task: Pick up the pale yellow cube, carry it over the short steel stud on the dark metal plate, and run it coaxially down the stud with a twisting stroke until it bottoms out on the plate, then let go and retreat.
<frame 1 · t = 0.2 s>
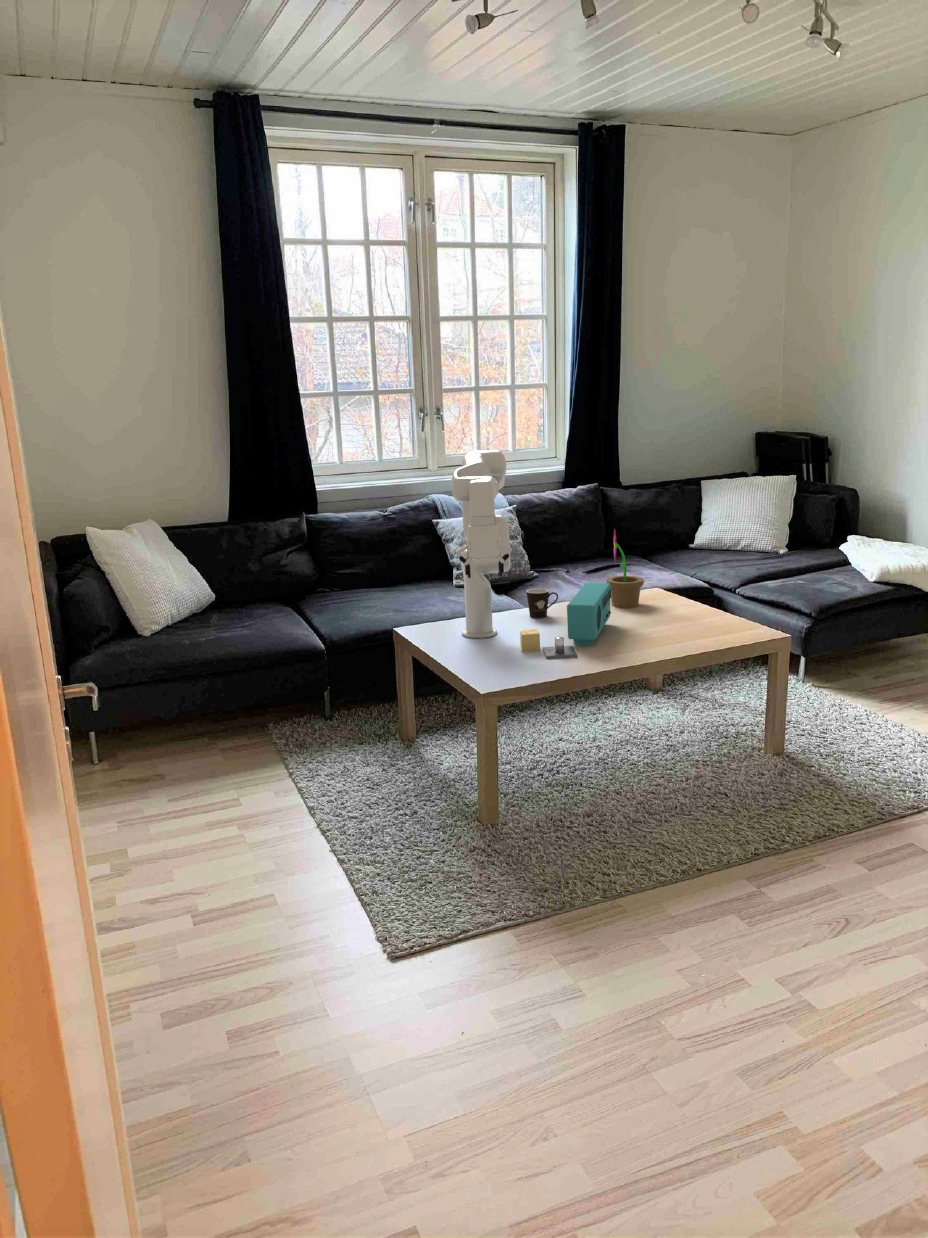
hand: (484, 576, 292), 31 cm above the table, fingers open, 9 cm apart
pale yellow cube: (530, 648, 322), on the table
coffee mug: (542, 616, 363), on the table
flowerpot: (625, 605, 375), on the table
stud plate: (559, 653, 316), on the table
radio: (591, 635, 336), on the table
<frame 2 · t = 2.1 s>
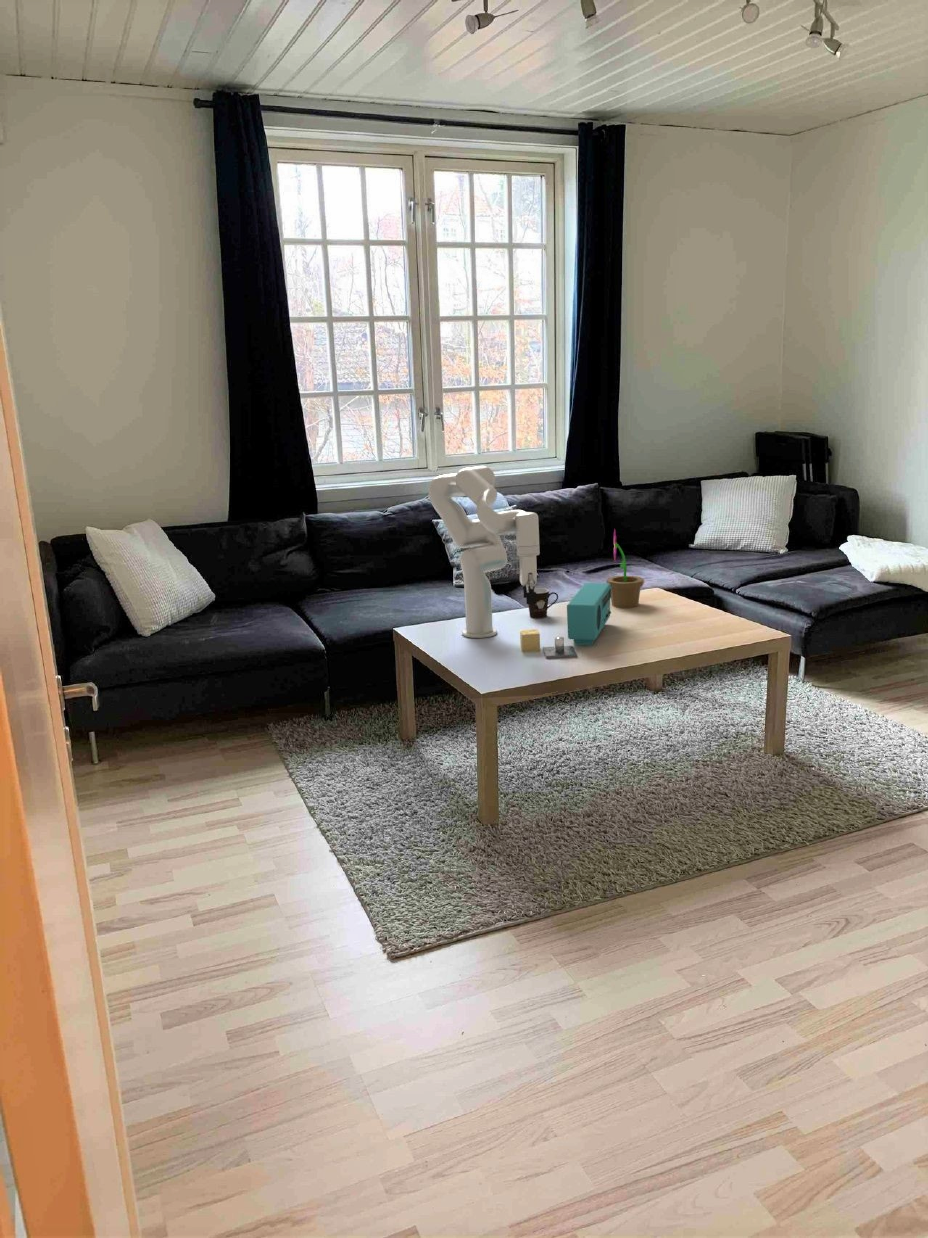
hand: (529, 600, 317), 17 cm above the table, fingers open, 9 cm apart
nothing on the table moved.
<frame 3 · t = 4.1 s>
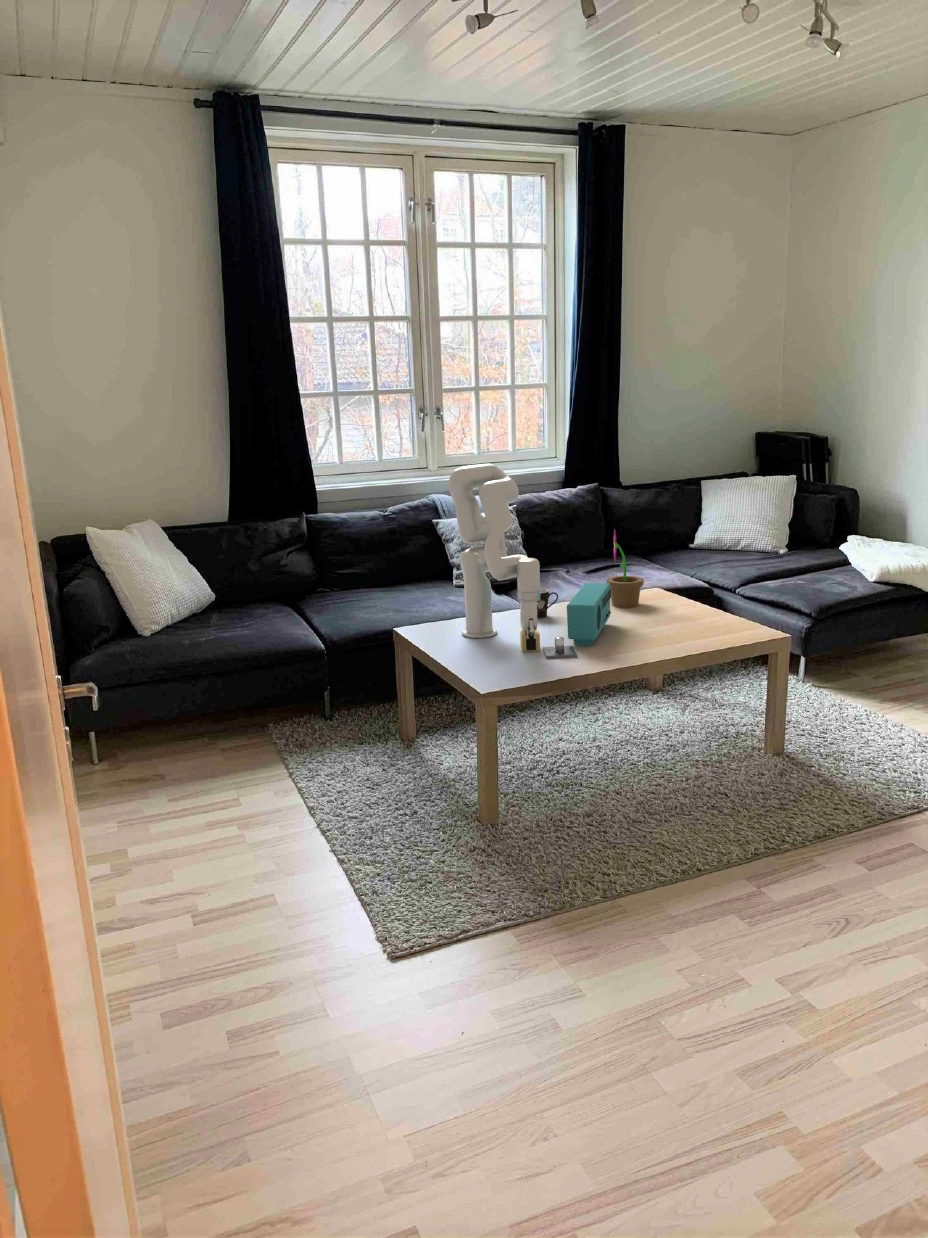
hand: (530, 646, 322), 1 cm above the table, fingers closed on pale yellow cube, 6 cm apart
pale yellow cube: (530, 648, 322), on the table, touching gripper
everything else where it was.
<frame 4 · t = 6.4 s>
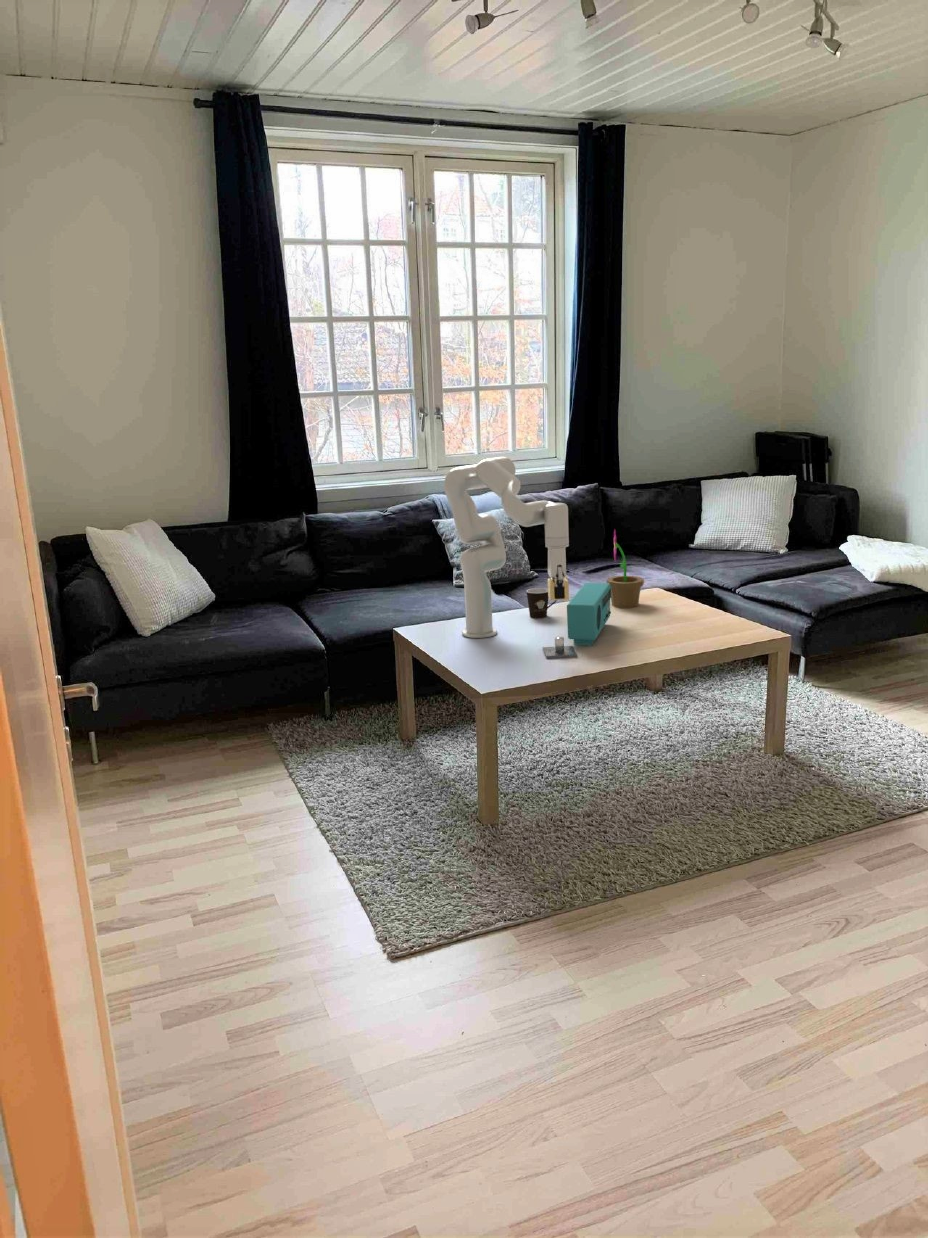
hand: (558, 595, 311), 20 cm above the table, fingers closed on pale yellow cube, 6 cm apart
pale yellow cube: (558, 598, 311), point 19 cm above the table, touching gripper
everything else where it was.
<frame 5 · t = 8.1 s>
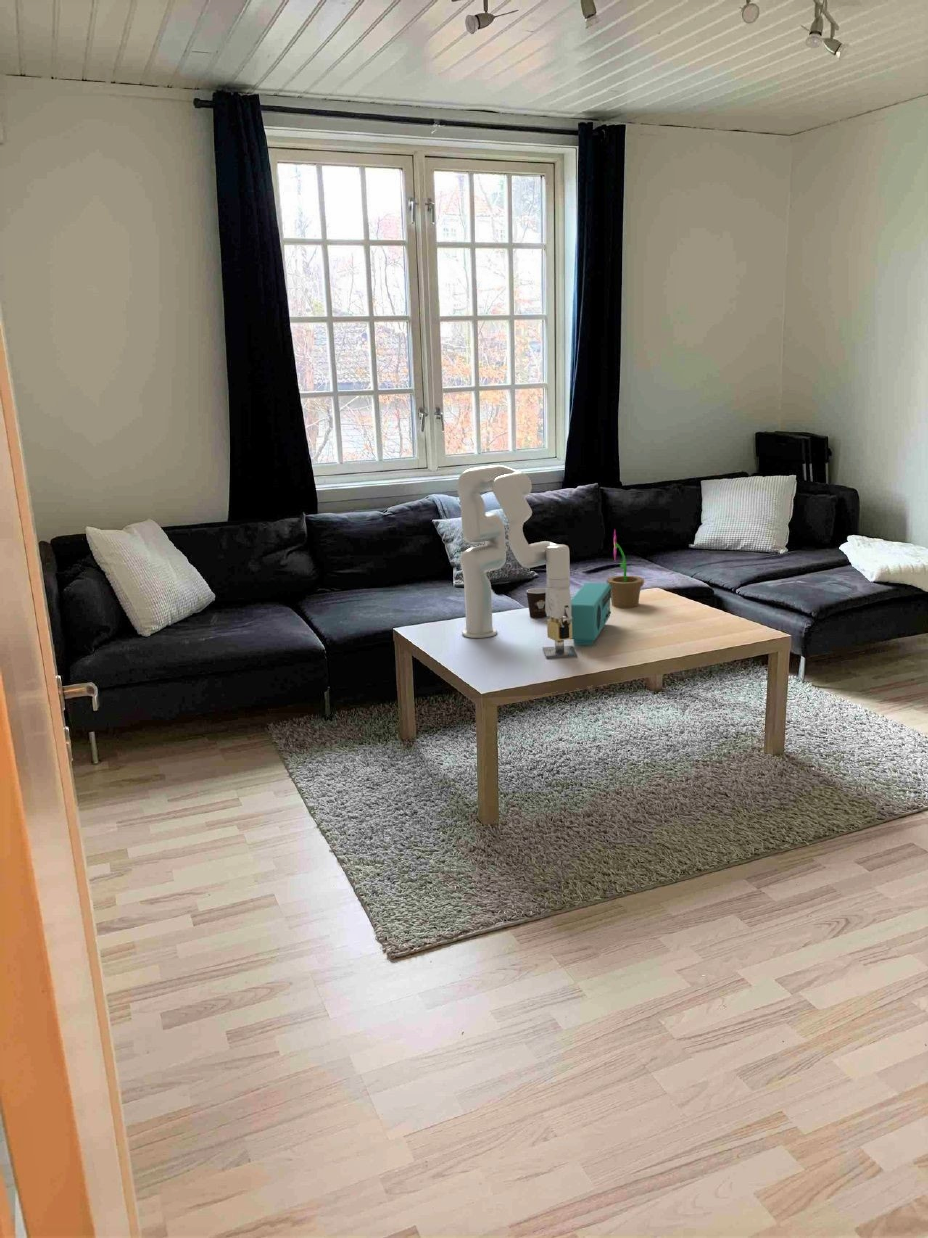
hand: (559, 635, 314), 6 cm above the table, fingers closed on pale yellow cube, 6 cm apart
pale yellow cube: (559, 637, 314), point 5 cm above the table, touching gripper
everything else where it was.
when the fingers open (3 cm above the table, at t = 9.2 s): pale yellow cube stays where it is, resting on stud plate.
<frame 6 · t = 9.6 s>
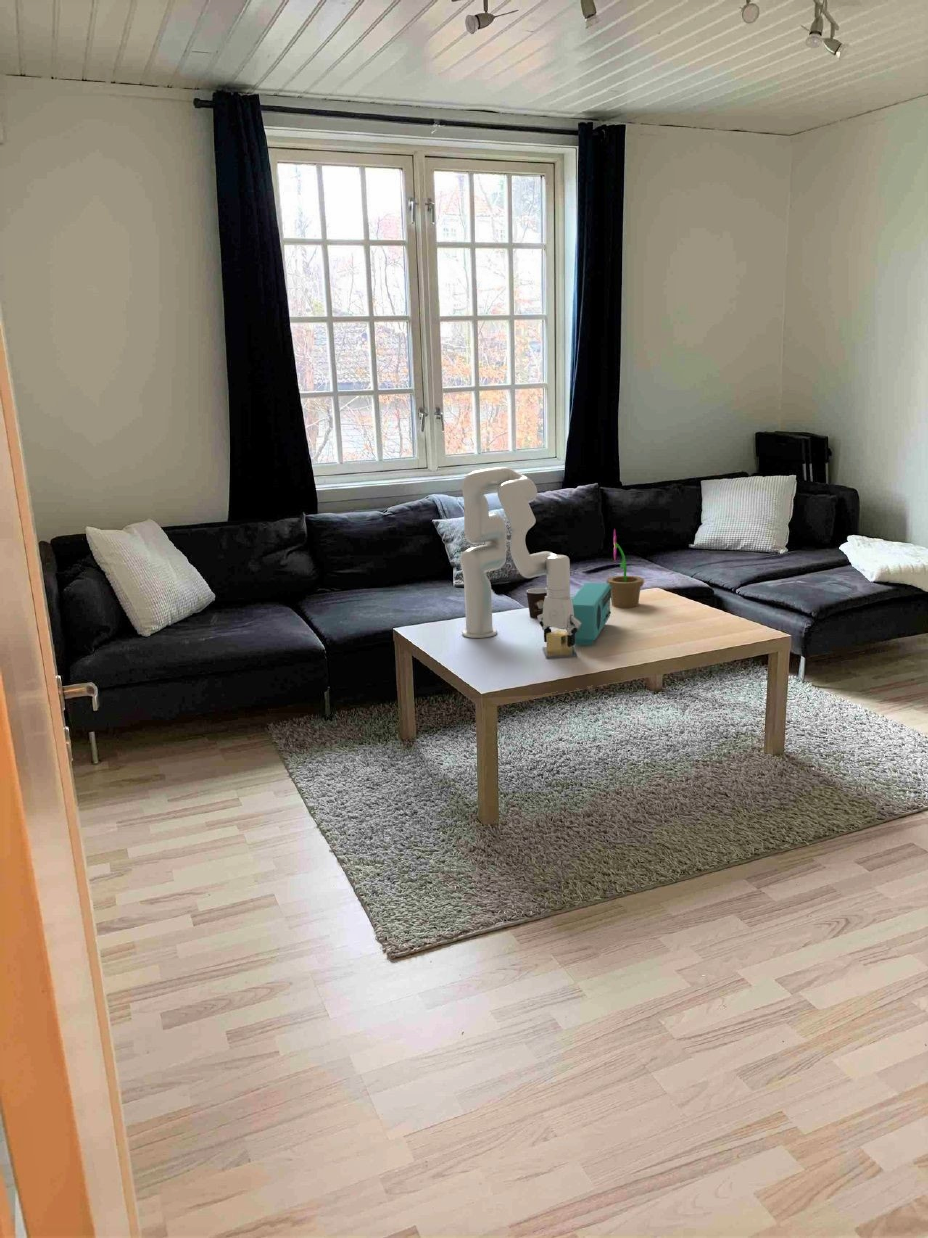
hand: (559, 643, 315), 3 cm above the table, fingers open, 9 cm apart
pale yellow cube: (559, 650, 315), point 1 cm above the table, touching stud plate
everything else where it was.
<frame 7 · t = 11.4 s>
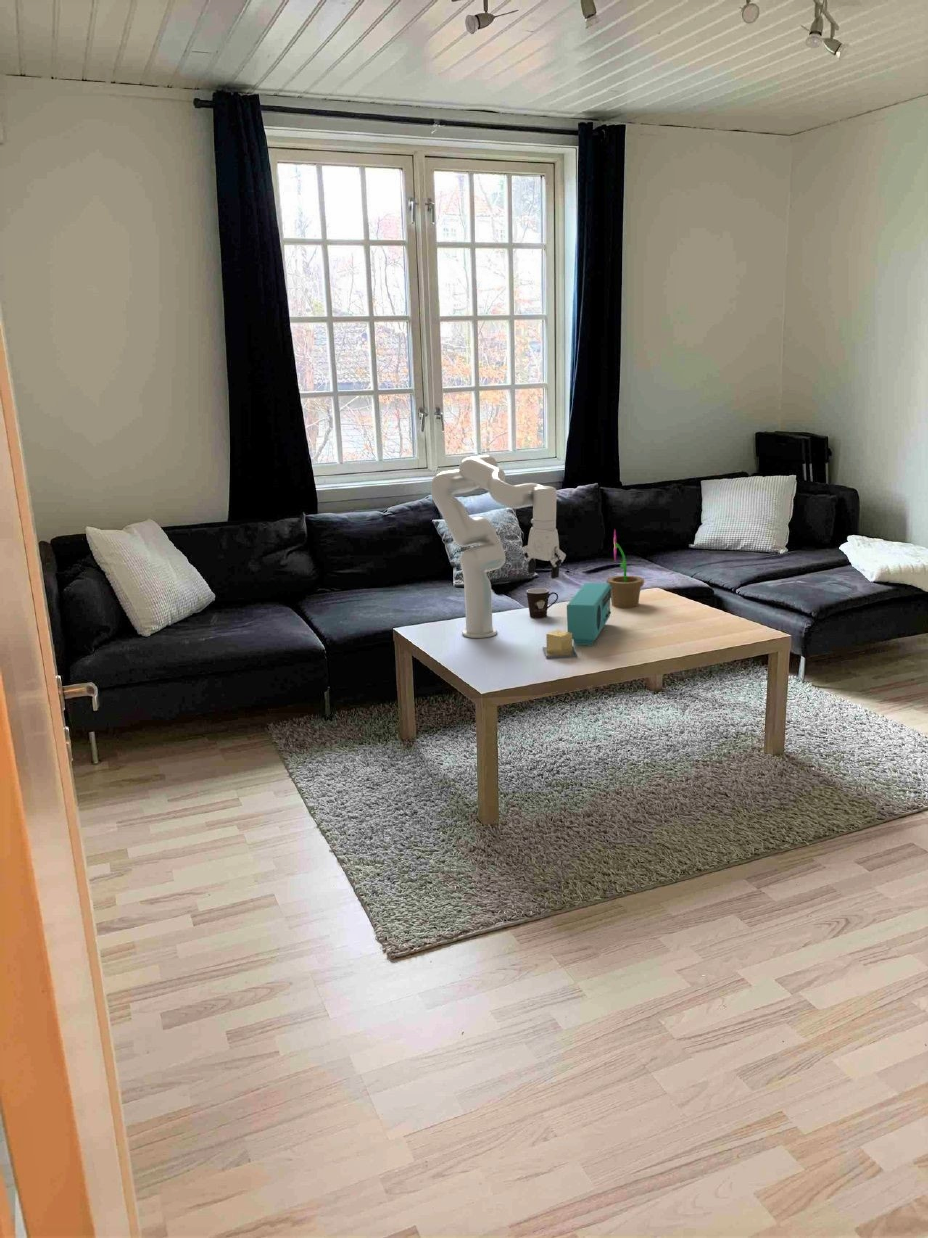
hand: (543, 575, 316), 25 cm above the table, fingers open, 9 cm apart
nothing on the table moved.
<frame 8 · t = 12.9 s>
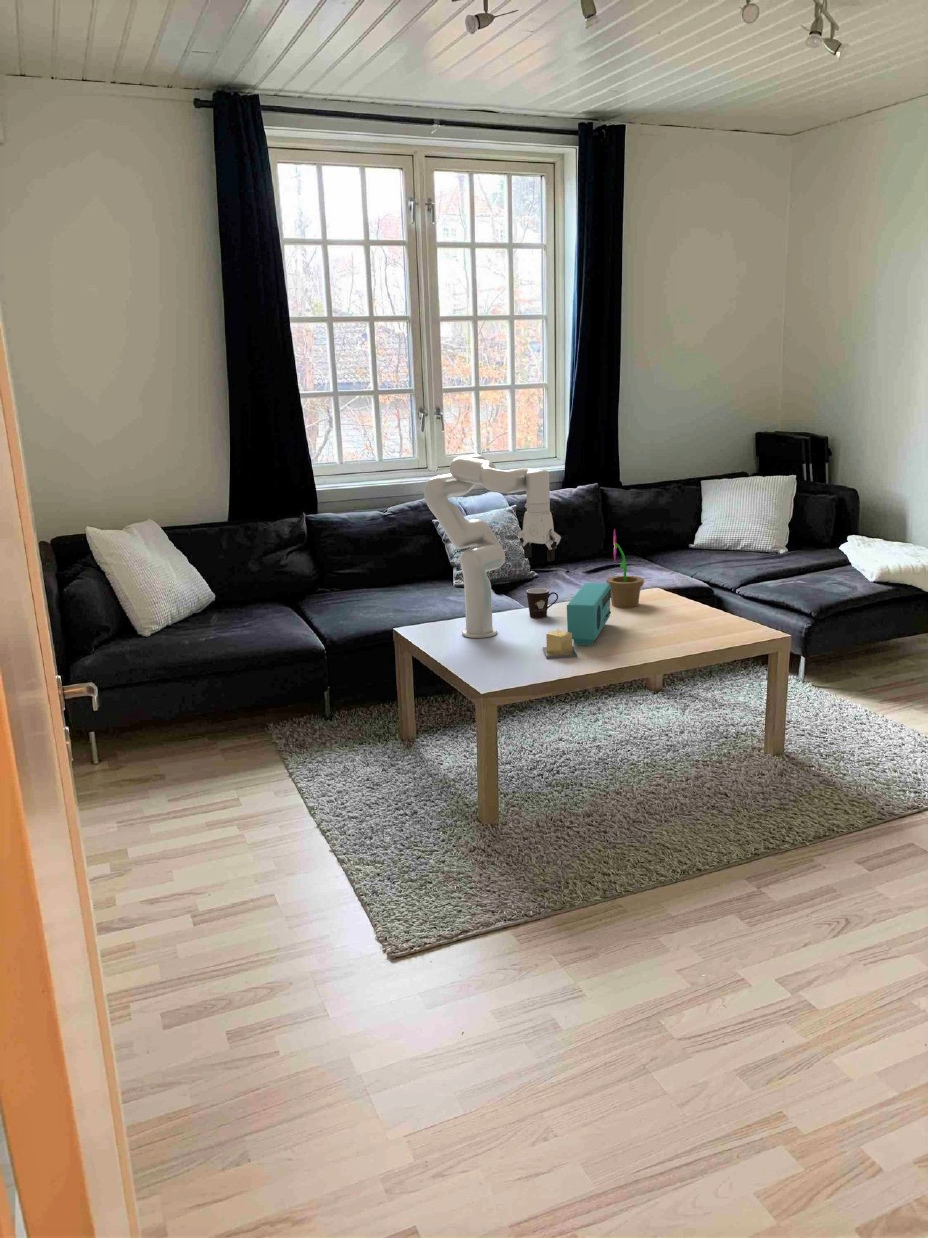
hand: (539, 559, 316), 30 cm above the table, fingers open, 9 cm apart
nothing on the table moved.
at the end: pale yellow cube 0.1 cm off-centre on the stud plate, point 1.0 cm above the stud plate's base; pale yellow cube tilted 0°; the gripper is holding nothing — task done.
